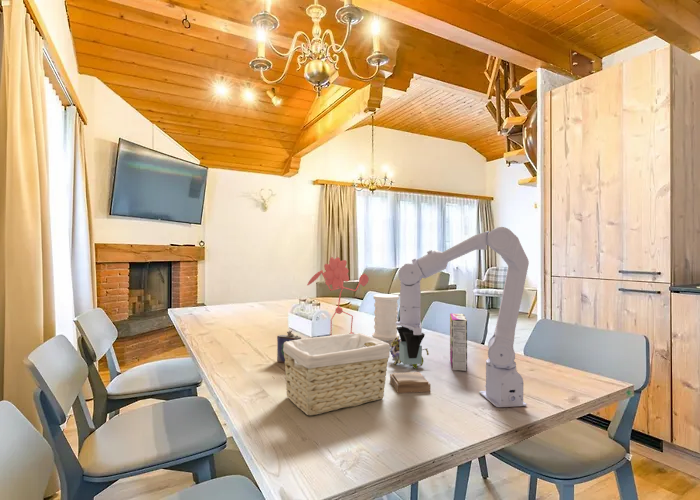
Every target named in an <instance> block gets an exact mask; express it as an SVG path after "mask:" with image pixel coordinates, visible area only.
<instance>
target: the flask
mask: <svg viewBox="0 0 700 500" xmlns="http://www.w3.org/2000/svg"><path fill="white" fill-rule="evenodd" d="M292 332H293V330H289V331H286V334H278V335H277V337H276V340H277V343H276V344H277V345H276V346H277V350H276V357H277V358H276V361H277V363H280V364H285V358H284V351H283V348H284V342H286V341H292V340H298V339H302V337H301V336H298V334H297V335H295V334H294V333H292Z"/></svg>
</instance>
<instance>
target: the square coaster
mask: <svg viewBox="0 0 700 500" xmlns="http://www.w3.org/2000/svg"><path fill="white" fill-rule="evenodd" d="M389 379H390V380H389V382H390V383H391V384H392V387H394V389H395V391H396V393H398V394H402V393H403V394H404V393H405V394H406V393H407V394H409V393H427V392H429V393H431V383H430V381H428V380H427V379H426V378H425V376H423V374H422V373H421V372H419V371H417V372H416V371H414V372H413V371H411V372H392V373H390V375H389Z"/></svg>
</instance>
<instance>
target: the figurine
mask: <svg viewBox="0 0 700 500" xmlns="http://www.w3.org/2000/svg"><path fill="white" fill-rule="evenodd" d="M347 263H348V262H347V260H345V259H343V260H341V258H340V257H339V256H338V257H336V258H334V257H332V256H331V257H330V258H329V262H328V263H324V266H323V267H324V270H325V271H323V270H322V269H321V270H319V271H318V272H316V273H315V274H314V275H313V276H312V277H311V278H310V280H308V282H307V285H306V286H310V285H311V284H312V283H314V282H316V280H318V278H320V276H321V274H322V277H323V279H324V281H325V285H326V286H327V287H328V290H329V291H330V292H332V291H336V290H340V289H341V290H340V292H339V296H338V304H337V307H336V308H335V310H334V311H335V312H334V314H333V315H332V317H331V319H330V336H332V335H333V334H332V333H333V332H332V330H333V329H332V321H333V318H334V317H335V315H336V314H338V315H340V314H342V313H344V314H346V315H349V316H350V317H351V323H350V332H348V334H355V332H352V331H353V319H354V318H353V317H354V316H353V315H352V314H350V313H348V312H345V311H343V308H342V307H341V306H340V303H341V297H342V292H343V290H344V289H345V290H349V291H352V292H356V291H357V290H358V288H359V287H360V285H361V286H362V287H365V286H366V285H367V284H368V283H369V281H370V280H369V275H367V274H366V273H363V274H361V275H360V276H359V278H358V281H359V282H358V284H357V286H356V288H355V289H353V288H349V287H345V286H344V282H349V281H350V276H349V271H350V270H349V268H348V267H346V266H347ZM330 285H331V286H330ZM331 287H332V288H331Z"/></svg>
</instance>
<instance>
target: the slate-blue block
mask: <svg viewBox="0 0 700 500" xmlns="http://www.w3.org/2000/svg"><path fill="white" fill-rule="evenodd" d="M422 347H423V346H422V344H420V347H419V351H418V355H417V358H409V357H408V351H407V344H406V341H404V342H399V359H400V360H401V363H402V364H403V365H412V364H417V365H421V364H422V357H423V354H422V353H423V350H422V349H423V348H422ZM422 365H423V364H422Z"/></svg>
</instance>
